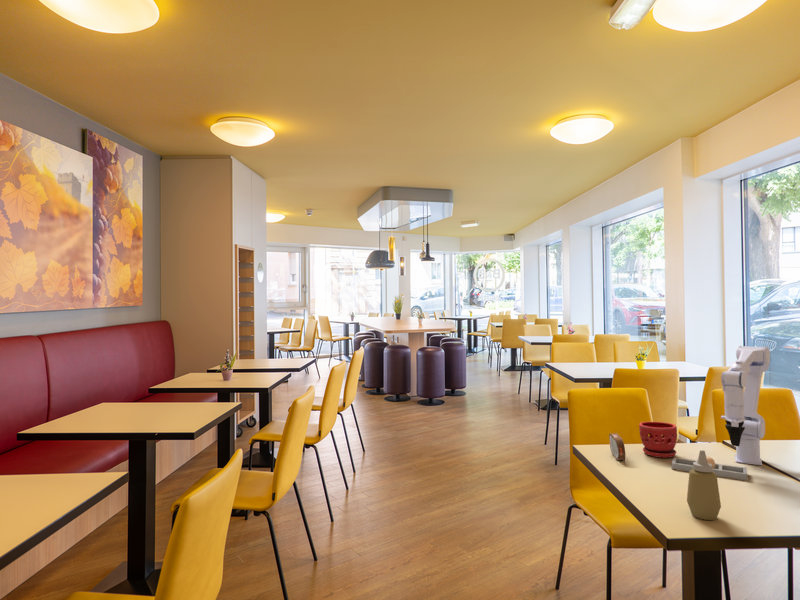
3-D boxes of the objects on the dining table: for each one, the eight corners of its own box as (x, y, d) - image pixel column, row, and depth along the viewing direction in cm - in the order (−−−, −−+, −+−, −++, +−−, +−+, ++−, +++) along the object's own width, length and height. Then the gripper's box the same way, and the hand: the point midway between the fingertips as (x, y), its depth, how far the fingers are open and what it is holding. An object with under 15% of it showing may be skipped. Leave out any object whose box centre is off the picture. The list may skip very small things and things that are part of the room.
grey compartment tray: (673, 463, 179) (673, 457, 179) (746, 473, 167) (746, 467, 167) (671, 469, 172) (671, 463, 173) (747, 480, 160) (747, 474, 160)
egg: (701, 467, 172) (701, 454, 173) (715, 469, 170) (714, 456, 170) (701, 470, 169) (701, 457, 169) (715, 472, 167) (714, 459, 167)
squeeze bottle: (680, 510, 137) (678, 447, 137) (707, 509, 138) (705, 446, 138) (700, 523, 129) (698, 455, 129) (728, 522, 129) (727, 454, 130)
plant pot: (678, 452, 192) (677, 422, 192) (676, 461, 181) (675, 429, 181) (641, 448, 199) (641, 419, 199) (638, 456, 188) (637, 425, 188)
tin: (626, 463, 180) (626, 440, 180) (617, 463, 180) (616, 440, 180) (616, 451, 194) (616, 430, 194) (608, 451, 195) (608, 430, 195)
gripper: (720, 400, 180) (721, 437, 179) (720, 407, 168) (721, 446, 167) (744, 402, 176) (745, 439, 175) (745, 409, 164) (746, 449, 163)
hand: (735, 443), depth 171 cm, fingers open, 7 cm apart
